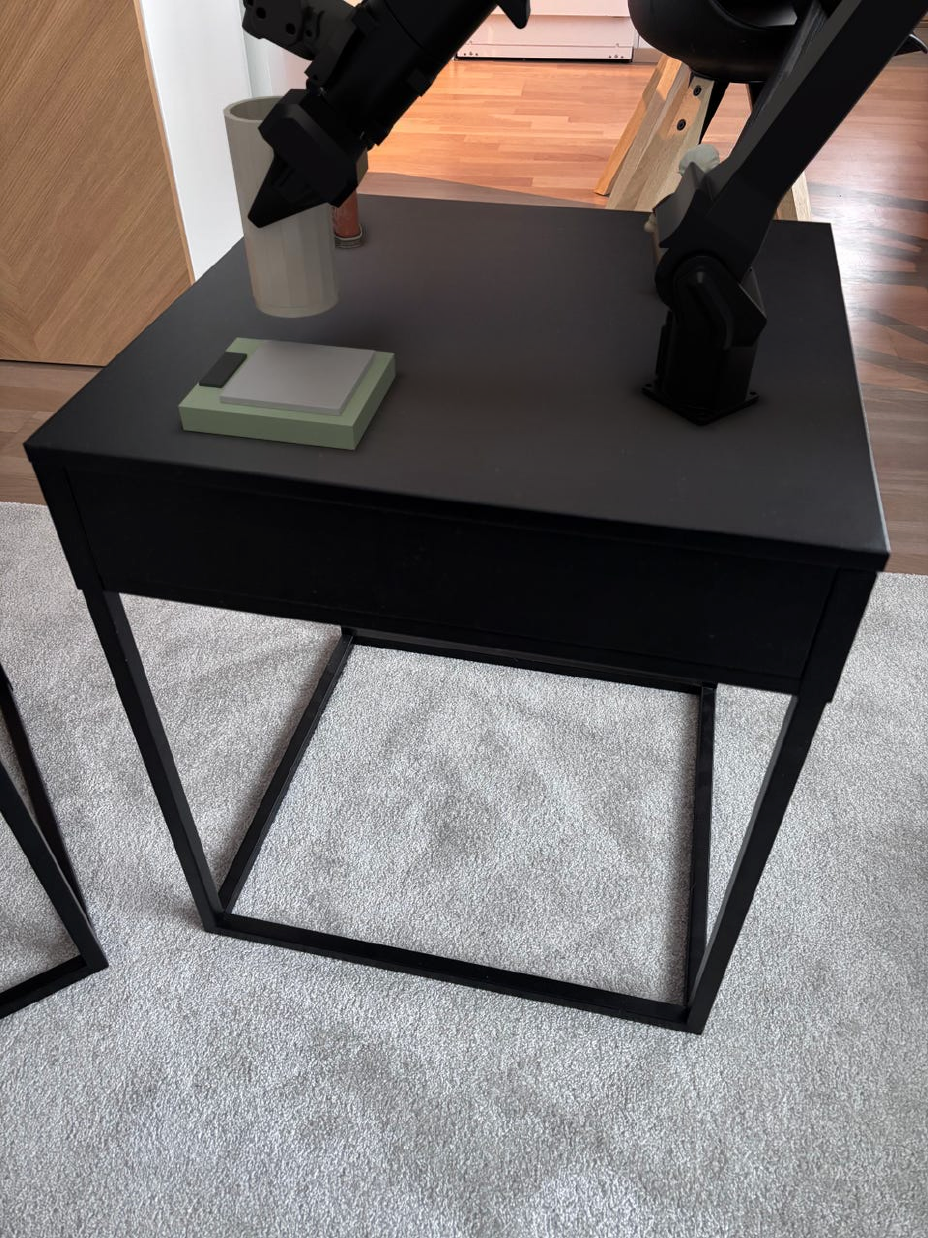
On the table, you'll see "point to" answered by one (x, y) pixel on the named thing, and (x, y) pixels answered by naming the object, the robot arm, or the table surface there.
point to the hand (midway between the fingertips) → (266, 204)
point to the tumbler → (279, 227)
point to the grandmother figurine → (700, 155)
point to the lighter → (347, 223)
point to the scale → (290, 393)
